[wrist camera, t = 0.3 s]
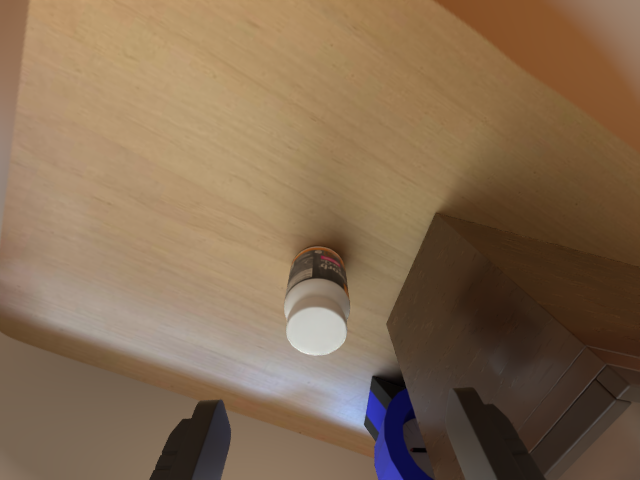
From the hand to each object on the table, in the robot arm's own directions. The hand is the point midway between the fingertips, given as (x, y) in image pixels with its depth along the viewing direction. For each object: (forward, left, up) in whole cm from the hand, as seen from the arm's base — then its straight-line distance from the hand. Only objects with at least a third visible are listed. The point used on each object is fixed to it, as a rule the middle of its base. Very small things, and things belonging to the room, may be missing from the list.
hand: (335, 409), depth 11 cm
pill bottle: (+4, -5, -21) cm, 21 cm away
